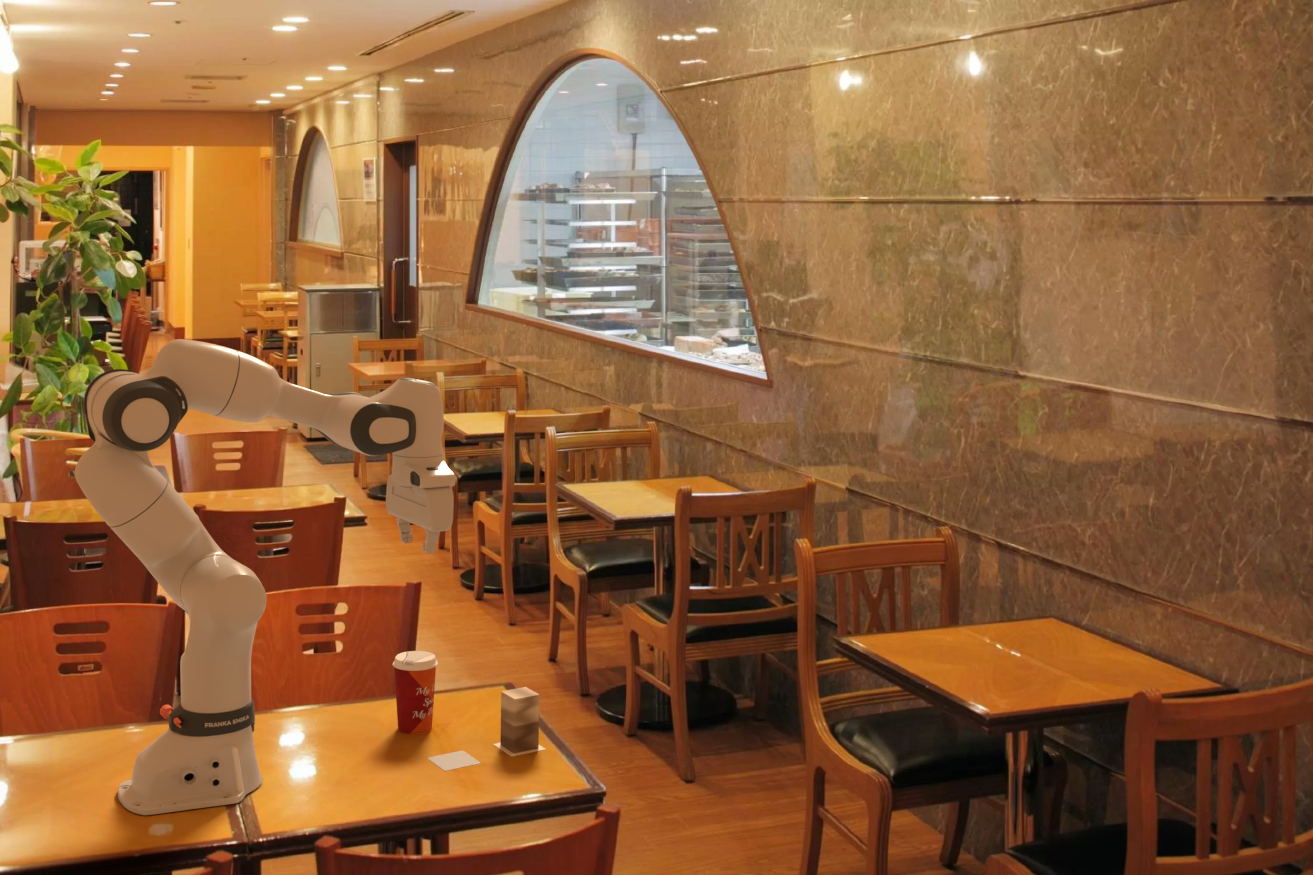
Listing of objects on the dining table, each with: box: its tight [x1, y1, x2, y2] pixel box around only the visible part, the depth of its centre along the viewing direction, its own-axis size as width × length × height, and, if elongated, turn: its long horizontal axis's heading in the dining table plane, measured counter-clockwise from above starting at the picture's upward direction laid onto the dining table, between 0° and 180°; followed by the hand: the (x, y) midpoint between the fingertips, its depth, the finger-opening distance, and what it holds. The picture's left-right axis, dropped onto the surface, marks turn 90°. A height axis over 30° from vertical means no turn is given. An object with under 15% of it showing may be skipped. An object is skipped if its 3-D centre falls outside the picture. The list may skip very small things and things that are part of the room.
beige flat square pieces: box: [426, 742, 547, 772], centre depth 238 cm, size 22×14×1 cm, turn 125°
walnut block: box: [499, 717, 540, 754], centre depth 241 cm, size 5×5×5 cm
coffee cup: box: [392, 650, 439, 735], centre depth 249 cm, size 8×8×15 cm
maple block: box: [500, 686, 540, 726], centre depth 241 cm, size 5×5×5 cm
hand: (417, 547), depth 237 cm, fingers open, 8 cm apart
